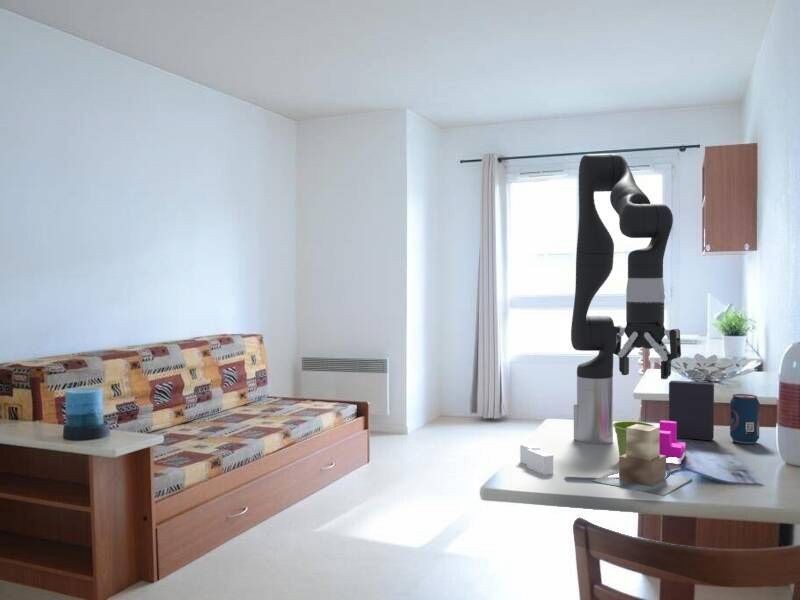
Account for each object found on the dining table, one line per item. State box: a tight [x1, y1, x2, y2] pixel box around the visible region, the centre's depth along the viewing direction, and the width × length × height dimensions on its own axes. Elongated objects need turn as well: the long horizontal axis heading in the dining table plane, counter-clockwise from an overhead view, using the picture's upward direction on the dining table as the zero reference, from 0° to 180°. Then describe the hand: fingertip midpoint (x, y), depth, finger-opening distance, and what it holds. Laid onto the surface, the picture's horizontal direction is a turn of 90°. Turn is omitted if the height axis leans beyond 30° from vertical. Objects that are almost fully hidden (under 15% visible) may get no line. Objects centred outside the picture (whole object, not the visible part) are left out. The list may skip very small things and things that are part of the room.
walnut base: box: [592, 454, 693, 497], centre depth 147 cm, size 15×15×6 cm
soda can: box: [729, 393, 761, 444], centre depth 184 cm, size 7×7×12 cm
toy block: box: [659, 420, 687, 458], centre depth 168 cm, size 15×6×8 cm, turn 153°
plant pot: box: [613, 420, 656, 456], centre depth 164 cm, size 9×9×9 cm
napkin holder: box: [519, 443, 554, 476], centre depth 158 cm, size 15×11×6 cm
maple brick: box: [626, 424, 660, 460], centre depth 146 cm, size 5×5×6 cm
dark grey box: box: [668, 380, 715, 441], centre depth 189 cm, size 11×4×15 cm, turn 63°
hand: (644, 376), depth 147 cm, fingers open, 8 cm apart
